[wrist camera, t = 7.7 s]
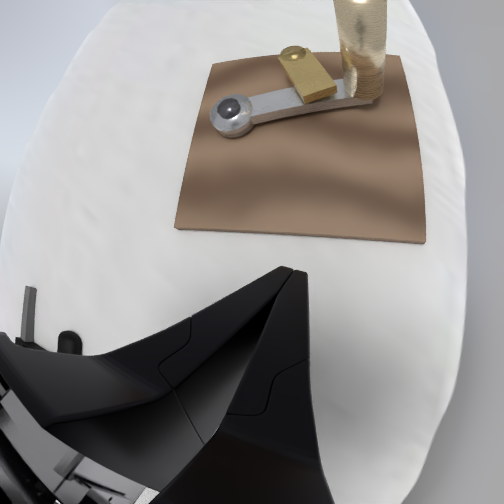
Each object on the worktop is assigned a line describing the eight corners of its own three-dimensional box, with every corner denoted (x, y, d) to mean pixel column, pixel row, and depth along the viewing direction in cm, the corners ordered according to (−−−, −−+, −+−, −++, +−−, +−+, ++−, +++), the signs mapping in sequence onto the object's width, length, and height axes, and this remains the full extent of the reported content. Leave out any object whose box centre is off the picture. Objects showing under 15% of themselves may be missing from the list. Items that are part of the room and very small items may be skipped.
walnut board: (423, 244, 20) (425, 241, 19) (178, 229, 26) (173, 227, 25) (399, 60, 23) (399, 55, 22) (215, 68, 29) (212, 64, 28)
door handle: (7, 279, 33) (2, 375, 29) (74, 303, 27) (69, 433, 23) (23, 283, 36) (17, 375, 32) (94, 306, 30) (88, 429, 26)
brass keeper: (338, 108, 23) (336, 85, 20) (308, 119, 23) (302, 96, 20) (308, 64, 25) (302, 42, 21) (281, 74, 25) (273, 51, 22)
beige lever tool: (217, 142, 25) (148, 61, 14) (215, 110, 26) (156, 30, 15) (387, 110, 21) (397, 5, 10) (374, 79, 22) (372, -20, 11)
